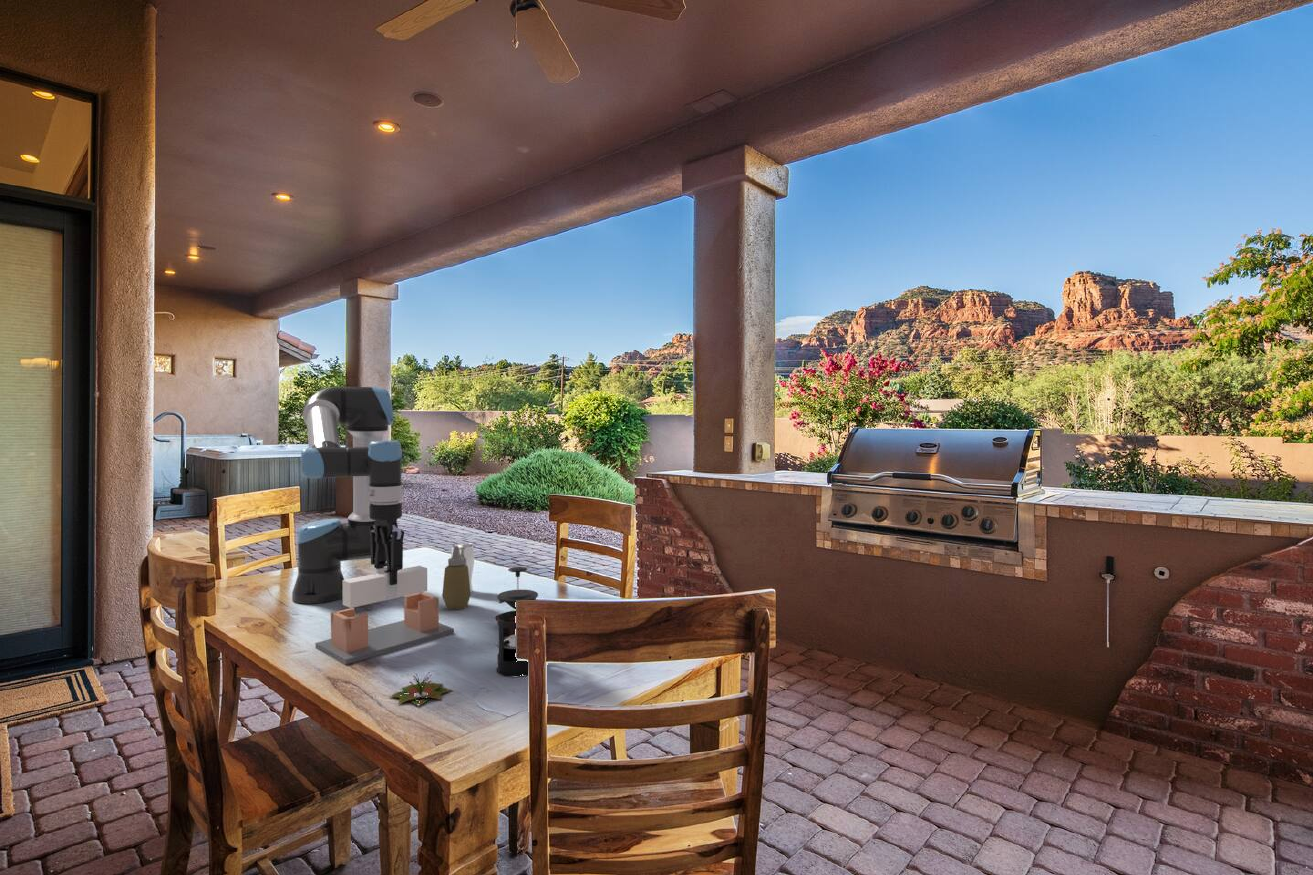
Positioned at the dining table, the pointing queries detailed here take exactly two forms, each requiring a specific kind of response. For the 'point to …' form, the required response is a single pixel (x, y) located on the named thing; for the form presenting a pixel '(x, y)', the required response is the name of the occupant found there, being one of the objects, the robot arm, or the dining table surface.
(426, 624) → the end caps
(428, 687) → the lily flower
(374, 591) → the slat
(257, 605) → the dining table surface
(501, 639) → the french press
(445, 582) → the squeeze bottle
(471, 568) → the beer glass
